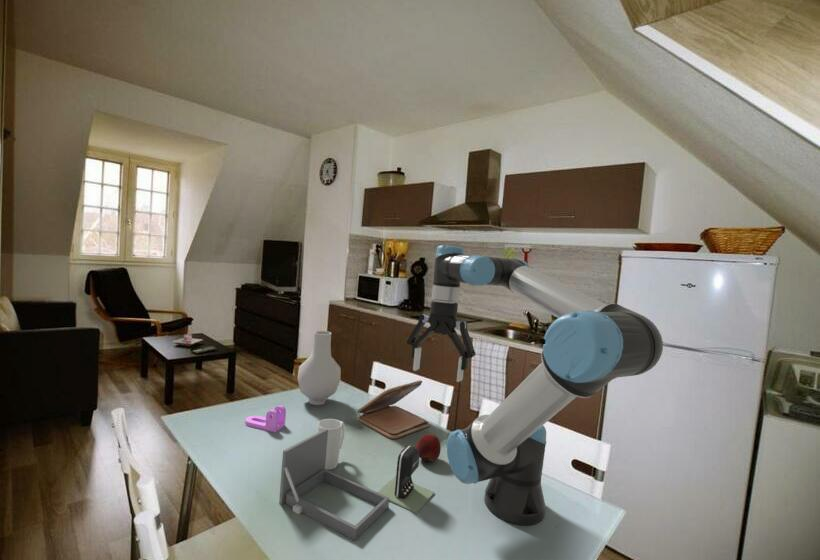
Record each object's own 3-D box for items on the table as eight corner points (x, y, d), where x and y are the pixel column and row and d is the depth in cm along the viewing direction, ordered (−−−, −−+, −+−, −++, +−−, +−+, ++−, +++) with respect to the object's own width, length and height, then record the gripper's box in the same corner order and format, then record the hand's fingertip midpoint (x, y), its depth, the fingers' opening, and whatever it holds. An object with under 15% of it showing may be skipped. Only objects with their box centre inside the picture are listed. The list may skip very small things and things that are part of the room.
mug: (327, 473, 109) (330, 431, 108) (309, 465, 112) (312, 424, 111) (350, 459, 117) (354, 420, 117) (333, 451, 121) (336, 413, 120)
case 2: (393, 407, 160) (397, 368, 159) (432, 426, 146) (436, 384, 145) (353, 419, 146) (356, 377, 144) (392, 442, 131) (396, 395, 130)
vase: (288, 406, 151) (293, 333, 149) (306, 391, 167) (311, 326, 165) (329, 413, 148) (335, 339, 146) (344, 398, 164) (349, 331, 163)
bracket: (284, 426, 135) (286, 406, 134) (274, 432, 129) (276, 412, 129) (252, 418, 138) (253, 398, 138) (241, 424, 133) (242, 404, 133)
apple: (444, 461, 121) (447, 436, 121) (428, 469, 116) (430, 443, 115) (426, 451, 126) (428, 427, 126) (409, 459, 121) (412, 433, 120)
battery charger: (407, 502, 99) (411, 458, 98) (393, 497, 101) (397, 453, 100) (417, 488, 105) (421, 446, 105) (404, 483, 107) (408, 442, 106)
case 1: (390, 505, 98) (394, 455, 97) (352, 543, 84) (357, 484, 83) (322, 474, 108) (325, 428, 107) (278, 503, 95) (282, 450, 94)
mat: (434, 493, 104) (434, 491, 104) (416, 513, 96) (416, 512, 96) (395, 477, 110) (395, 476, 110) (375, 495, 101) (375, 493, 101)
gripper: (492, 306, 108) (483, 382, 110) (412, 294, 120) (405, 362, 122) (483, 308, 102) (474, 389, 103) (399, 295, 114) (392, 368, 115)
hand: (437, 375), depth 112 cm, fingers open, 13 cm apart
